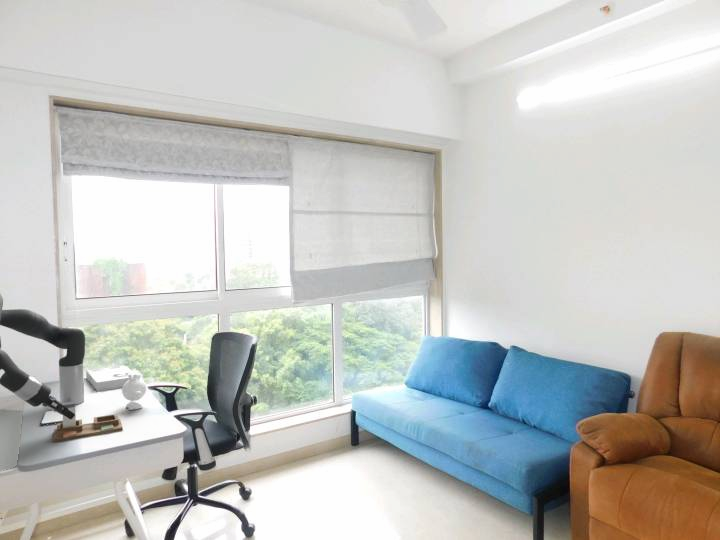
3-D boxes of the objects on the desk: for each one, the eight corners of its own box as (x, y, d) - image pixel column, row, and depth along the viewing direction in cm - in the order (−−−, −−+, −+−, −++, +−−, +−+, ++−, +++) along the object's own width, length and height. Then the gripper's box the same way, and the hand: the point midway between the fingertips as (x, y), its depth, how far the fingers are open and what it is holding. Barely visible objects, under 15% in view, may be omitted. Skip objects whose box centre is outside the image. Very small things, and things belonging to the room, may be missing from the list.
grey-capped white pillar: (63, 429, 181) (62, 402, 181) (75, 427, 184) (74, 400, 183) (63, 432, 178) (62, 405, 178) (75, 430, 180) (75, 403, 180)
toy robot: (118, 405, 213) (117, 371, 213) (141, 401, 219) (140, 368, 219) (127, 413, 202) (126, 378, 201) (151, 409, 208) (150, 374, 207)
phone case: (66, 424, 192) (69, 411, 206) (66, 420, 192) (69, 408, 206) (39, 428, 188) (45, 415, 202) (39, 424, 188) (44, 411, 202)
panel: (54, 431, 182) (54, 423, 182) (119, 420, 193) (119, 413, 193) (53, 442, 171) (53, 433, 171) (122, 430, 183) (122, 422, 183)
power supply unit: (124, 373, 273) (124, 364, 273) (138, 386, 247) (138, 376, 246) (86, 379, 262) (86, 369, 261) (96, 392, 235) (96, 382, 235)
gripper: (16, 396, 173) (53, 419, 183) (30, 403, 164) (68, 428, 174) (33, 378, 177) (68, 402, 187) (47, 384, 168) (84, 409, 178)
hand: (68, 414), depth 180 cm, fingers open, 8 cm apart
